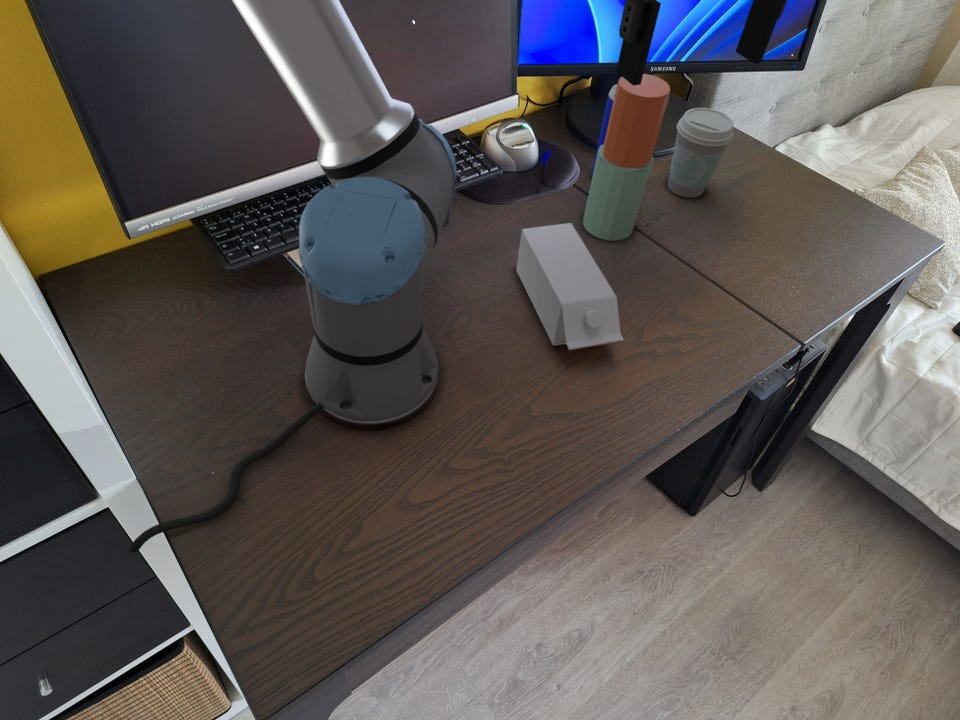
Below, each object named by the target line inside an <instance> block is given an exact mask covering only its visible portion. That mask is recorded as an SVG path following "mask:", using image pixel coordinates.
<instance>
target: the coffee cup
mask: <svg viewBox="0 0 960 720" xmlns="http://www.w3.org/2000/svg"><path fill="white" fill-rule="evenodd" d="M676 130H677V132H676V138H675V143H674V149H673V154H672V160H671V165H670V170H669V175H668V182H667V187H668V189H669V190H670V192H672V193H673V194H675V195H677V196H680V197H683V198H691V199H692V198H697V197H700V196H701V195H702V194H703V193H704V192H705V189H706V187H707V186H708V184H709V182H710V180H711V177H712V176H713V173H714V172H715V170H716V168H717V167H718V164H719V162H720V160H721V158H722V156H723V154H724V153H725V150H726V149H727V147H728V144H730V143H731V142H732V140H733V138H734V133H735V132H734V121H733V120H732V118H730V117H729V116H728V115H727V114H725V113H723V112H721V111H720V110H717V109H712V108H708V107H696V108H690V109H688V110H686V111H685V112H684V113H683V115H682V117H681V118H680V119H679V121H678V122H677V124H676Z"/></svg>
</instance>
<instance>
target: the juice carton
mask: <svg viewBox="0 0 960 720" xmlns="http://www.w3.org/2000/svg"><path fill="white" fill-rule="evenodd" d="M520 234H521V235H520V241H519V248H518V254H517V263H516V269H515V270H516V273H517V274H518V277H519V279H520V281H521V283H522V285H523V287H524V289H525V292H526V293H527V295H528V297H529V300H530V301H531V304H532V305H533V308H534V310H535V311H536V314H537V315H538V319H539V320H540V322H541V324H542V326H543V328H544V330H545V332H546V334H547V336H548V339H549V340H550V342H551V345H552V347H554V346H555V347H556V346H560V345H561V346H562V345H566V347H567V350H568V351H572V350H573V351H574V350H580V349H584V348H590V347H596V346H602V345H607V344H613V343H619V342H624V341H625V338H624V337H623V335H622V334H621V326H620V316H619V315H620V314H619V305H618V297H617V295H616V293H615V292H614V290H613V289H612V287H611V285H610V283H609V282H608V280H607V279H606V277H605V275H604V273H603V272H602V270H601V269H600V268H599V266H598V264H597V262H596V261H595V259H594V258H593V256H592V254H591V252H590V251H589V249H588V248H587V246H586V245H585V243H584V242H583V241H584V240H583V239H582V238H581V236H580V234H579V233H578V231H577V230H576V228H575V227H574V225H573V223H571V222H567V223H558V224H552V225H551V224H550V225H543V226H535V227H527V228H522V229H521V233H520Z"/></svg>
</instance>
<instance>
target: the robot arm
mask: <svg viewBox="0 0 960 720" xmlns="http://www.w3.org/2000/svg"><path fill="white" fill-rule="evenodd" d="M231 2H232V3H233V5H234V6H235V8H236V10H237V11H238V12H239V15H240V16H241V18H242V19H243V21H244V22H245V24H246V25H247V27H248V28H249V30H250V32H251V33H252V35H253V36H254V38H255V39H256V41H257V42H258V44H259V46H260V47H261V49H262V50H263V52H264V53H265V55H266V57H267V58H268V60H269V62H270V63H271V65H272V66H273V68H274V70H275V71H276V73H277V74H278V76H279V77H280V79H281V81H282V82H283V83H284V86H286V88H287V90H288V91H289V93H290V94H291V96H292V98H293V100H294V101H295V103H296V104H297V106H298V107H299V108H300V110H301V112H302V114H303V115H304V116H305V118H306V120H307V122H308V123H309V125H310V126H311V128H312V129H313V131H314V132H315V134H316V136H317V137H318V138H319V146H318V147H319V148H318V152H317V156H316V160H317V161H316V162H317V163H318V165H319V166H320V168H321V169H322V171H323V173H324V174H325V176H326V177H327V180H328V181H329V182H330V184H331V185H332V187H331V186H326V187H324V188H322V189H321V190H320V191H318V192H317V193H316V194H315V195H314V196H313V197H312V198H311V199H310V200H309V201H308V202H307V204H306V206H305V208H304V210H303V211H302V213H301V215H300V220H299V225H298V226H299V227H298V236H299V237H298V243H299V247H298V256H299V261H300V266H301V269H302V271H303V275H304V282H305V287H306V292H307V298H308V305H309V310H310V317H311V321H312V328H313V332H314V334H313V337H312V340H311V344H310V348H309V351H308V354H307V358H306V361H305V369H304V380H305V386H306V390H307V393H308V397H309V399H310V401H311V402H312V404H313V407H311V408H309V410H307V411H306V412H305V413H303V415H301V416H300V417H299V418H298V419H296V420H295V421H294V422H292V423H291V424H290V425H289V426H288V427H287V428H286V429H285V430H284V431H282V432H281V433H280V434H279V435H278V436H277V437H275V438H274V439H273V440H272V441H270V442H269V443H268V444H266V445H264V446H263V447H261V448H260V449H257V450H256V451H254V452H252V453H250V454H248V455H246V456H245V457H243V458H242V459H240V461H238V463H237V464H236V465H235V466H234V467H233V470H232V471H231V474H230V478H229V485H228V486H229V487H228V492H227V494H226V496H225V497H224V499H222V501H220V503H218V504H217V505H215V506H213V507H212V508H210V509H208V510H206V511H203V512H200V513H197V514H193V515H188V516H185V517H180V518H176V519H171V520H167V521H164V522H160V523H158V524H155V525H153V526H152V527H149V528H147V529H146V530H144V531H143V532H142V533H141V534H140V535H138V536H137V537H136V538H135V539H134V540H133V541H132V543H131V545H130V546H129V550H128V551H129V552H130V553H132V554H133V553H137V552H138V551H140V549H141V548H142V547H143V546H144V544H146V543H147V541H150V539H151V538H153V537H155V536H157V535H159V534H162V533H165V532H168V531H173V530H177V529H181V528H184V527H190V526H193V525H197V524H201V523H204V522H207V521H209V520H212V519H214V518H216V517H218V516H220V515H221V514H223V513H224V512H225V511H226V510H227V509H229V508H230V507H231V506H232V504H234V502H235V500H236V498H237V495H238V493H239V492H238V491H239V483H240V478H241V475H242V473H243V472H244V470H245V469H246V468H247V467H248V466H249V465H251V464H252V463H254V462H256V461H258V460H260V459H262V458H264V457H266V456H267V455H269V454H271V453H272V452H274V450H276V449H278V448H279V447H280V446H281V445H283V443H285V442H286V441H287V440H289V438H290V437H292V435H294V434H295V433H296V432H297V431H298V430H300V429H301V428H302V427H303V426H305V425H306V424H307V423H309V421H310V420H312V419H313V418H314V417H315V416H316V415H318V414H319V413H321V414H322V415H323V416H325V418H327V419H329V420H331V421H333V422H335V423H337V424H339V425H341V426H343V427H344V426H345V427H348V428H353V429H359V430H380V429H385V428H391V427H395V426H397V425H400V424H403V423H405V422H407V421H409V420H411V419H412V418H414V417H416V416H417V415H418V414H420V413H421V412H422V411H424V410H425V409H426V408H427V406H428V405H429V404H430V402H431V401H432V400H433V398H434V396H435V394H436V391H437V388H438V385H439V372H440V371H439V370H440V369H439V368H440V367H439V361H438V356H437V353H436V351H435V348H434V346H433V344H432V342H431V339H430V337H429V335H428V334H427V331H426V329H425V326H424V289H425V280H426V275H427V272H428V269H429V266H430V263H431V260H432V257H433V254H434V251H435V248H436V245H437V243H438V240H439V237H440V235H441V232H442V229H443V227H444V224H445V221H446V219H447V216H448V213H449V211H450V209H451V207H452V204H453V202H454V198H455V194H456V188H457V187H456V185H457V175H458V171H457V162H456V157H455V154H454V152H453V149H452V148H451V145H450V143H449V142H448V140H447V139H446V138H445V136H444V135H443V134H442V133H441V132H440V131H439V130H438V129H437V128H436V127H435V126H433V125H432V124H427V123H425V122H424V121H423V120H422V119H421V118H419V117H418V115H417V113H416V111H415V109H414V108H413V106H412V105H411V103H408V102H405V101H401V100H398V99H395V98H392V97H391V95H390V93H389V91H388V90H387V87H386V85H385V84H384V82H383V80H382V78H381V76H380V75H379V72H378V70H377V68H376V67H375V65H374V63H373V61H372V60H371V57H370V56H369V54H368V52H367V50H366V49H365V46H364V44H363V43H362V41H361V39H360V37H359V36H358V33H357V31H356V30H355V28H354V26H353V24H352V22H351V20H350V19H349V17H348V15H347V13H346V10H345V9H344V7H343V5H342V4H341V1H340V0H231ZM787 3H788V0H752V3H751V6H750V9H749V11H748V14H747V17H746V20H745V22H744V26H743V28H742V31H741V34H740V37H739V40H738V43H737V46H736V48H735V53H737V54H739V55H740V56H742V57H743V58H745V59H746V60H747V61H750V62H751V63H753V64H754V65H756V64H761V63H762V61H763V59H764V56H765V54H766V51H767V48H768V45H769V43H770V40H771V37H772V34H773V33H774V29H775V28H776V24H777V22H778V21H780V19H781V17H782V16H783V13H784V11H785V8H786V6H787ZM661 5H662V3H661V2H660V1H659V0H625V1H624V5H623V9H622V10H623V11H622V15H621V20H620V24H619V27H618V28H619V29H618V35H619V37H620V38H621V39H622V42H621V47H620V51H619V56H618V60H617V65H616V68H615V73H616V74H618V75H619V76H621V77H623V78H624V79H626V80H627V81H628V82H630V83H631V84H632V85H633V86H634V85H640V84H641V81H642V77H643V74H645V69H646V65H647V62H648V57H649V53H650V49H651V46H652V41H653V38H654V34H655V31H656V26H657V21H658V17H659V14H660V10H661Z"/></svg>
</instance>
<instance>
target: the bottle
mask: <svg viewBox="0 0 960 720" xmlns="http://www.w3.org/2000/svg"><path fill="white" fill-rule="evenodd" d="M603 145H604V144H603ZM603 145H601V146H600V148H599V150H598V154H597V159H596V163H595V168H594V172H593V175H592V177H591V181H590V185H589V190H588V195H587V201H586V204H585V209H584V214H583V219H582V224H583V227H584V229H585V230H586V231H587V232H588V234H590V235H592V236H593V237H595V238H597V239H600V240H604V241H609V242H610V241H611V242H617V241H622V240H625V239H627V238H629V237H630V236H631V235H632V234H633V231H634V227H635V225H636V221H637V217H638V213H639V210H640V207H641V205H642V200H643V196H644V194H645V191H646V187H647V183H648V180H649V176H650V173H651V170H652V166H653V162H654V159H655V158H654V156H653V155H652V158H651V161H650V162H649V163H648V164H647V165H646V166H643V167H639V168H626V167H620V166H618V165H615V164H613V163H610V162H609V161H608V160H607V159H606V158H605V157H604V156H603Z"/></svg>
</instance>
